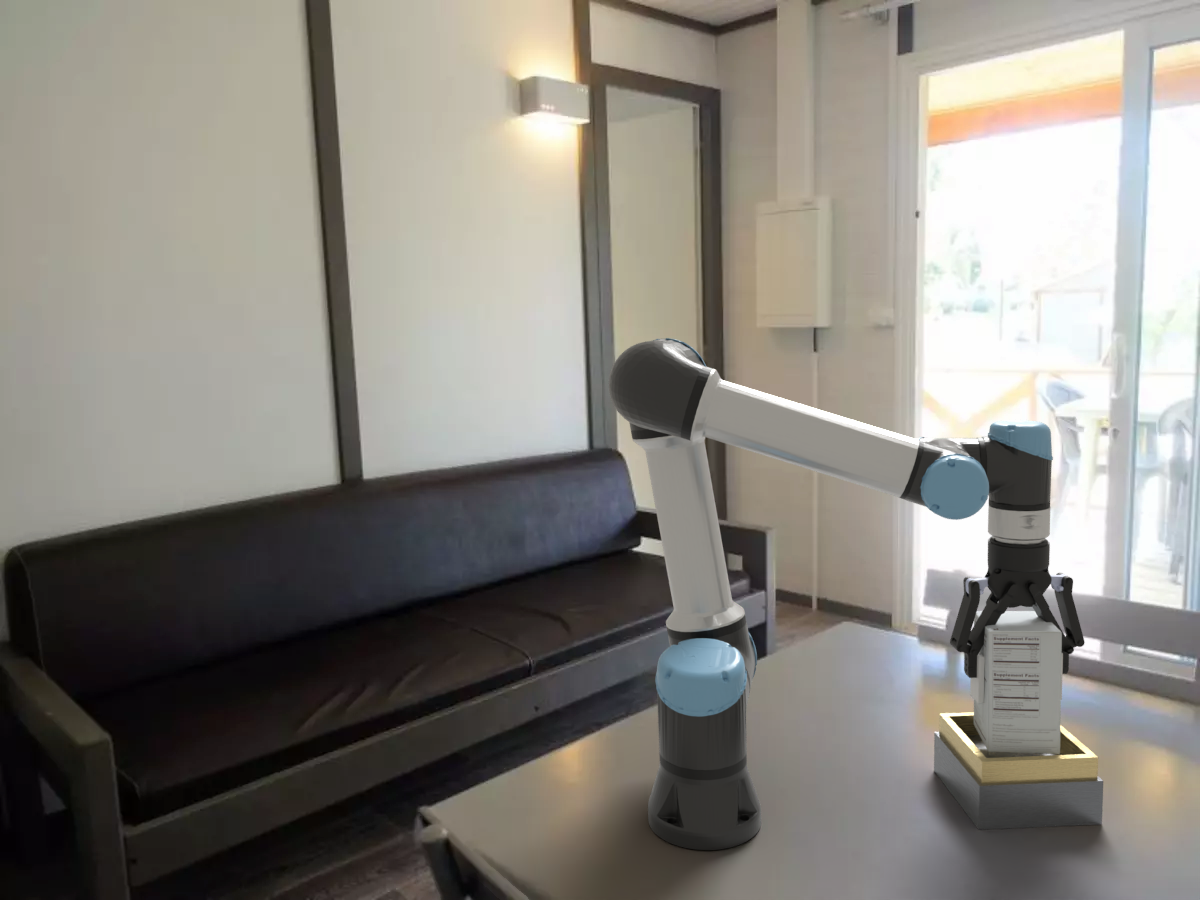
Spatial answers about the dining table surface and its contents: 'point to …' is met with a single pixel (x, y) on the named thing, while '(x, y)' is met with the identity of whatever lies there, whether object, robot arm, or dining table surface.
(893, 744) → the dining table surface
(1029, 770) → the gray square bin
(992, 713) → the supplement box
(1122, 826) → the dining table surface
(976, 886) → the dining table surface
